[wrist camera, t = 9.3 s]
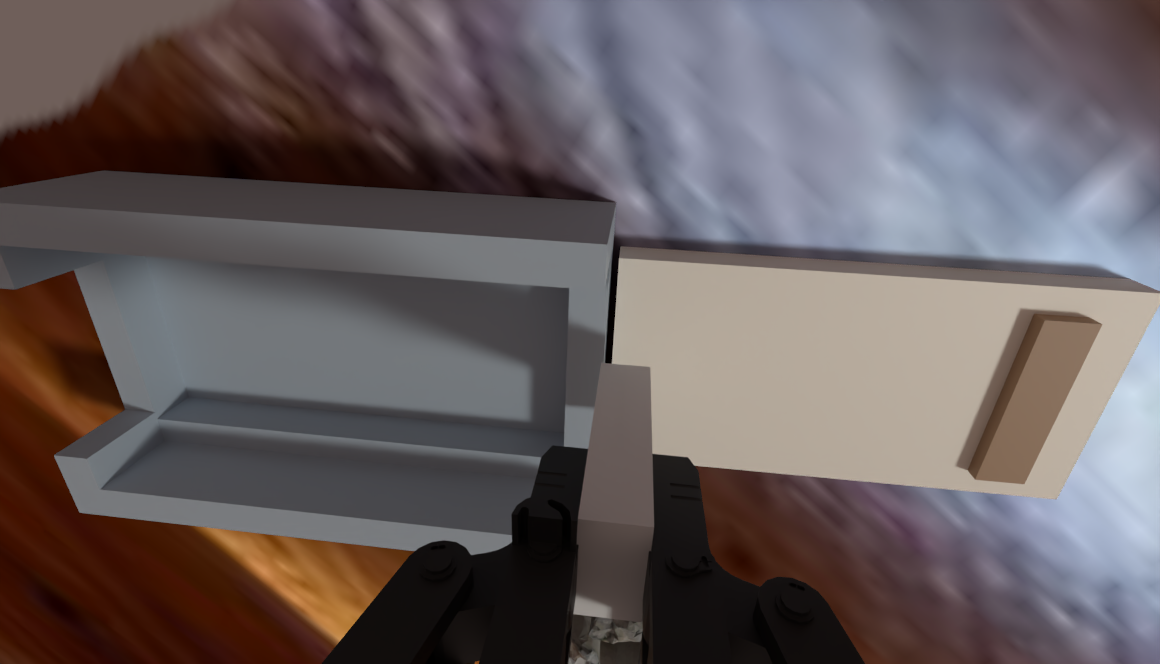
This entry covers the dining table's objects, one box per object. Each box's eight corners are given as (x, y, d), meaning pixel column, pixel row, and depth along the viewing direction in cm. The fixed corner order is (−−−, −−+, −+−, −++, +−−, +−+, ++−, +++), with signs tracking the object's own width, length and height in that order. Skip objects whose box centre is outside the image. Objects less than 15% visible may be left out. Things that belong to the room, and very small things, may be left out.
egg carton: (453, 539, 25) (420, 617, 22) (553, 443, 23) (534, 514, 19) (626, 654, 27) (623, 744, 24) (737, 579, 25) (753, 668, 21)
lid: (608, 429, 22) (604, 465, 20) (621, 242, 19) (618, 262, 17) (1024, 466, 21) (1066, 509, 19) (1116, 273, 18) (1180, 300, 16)
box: (186, 430, 24) (79, 512, 19) (103, 170, 19) (-63, 198, 15) (597, 471, 22) (586, 570, 18) (616, 202, 18) (607, 244, 13)
